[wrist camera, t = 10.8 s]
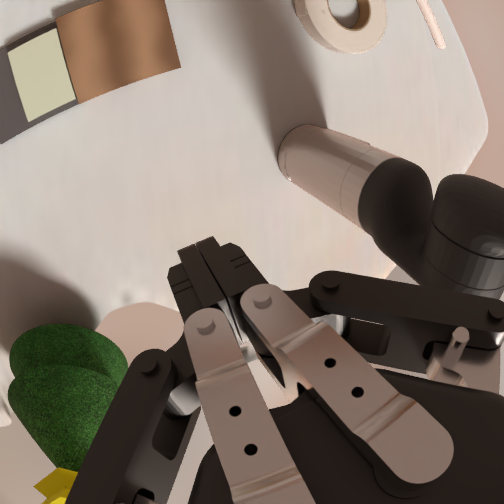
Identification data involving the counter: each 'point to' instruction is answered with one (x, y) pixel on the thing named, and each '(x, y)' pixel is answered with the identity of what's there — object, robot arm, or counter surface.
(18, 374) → the decorative tree
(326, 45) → the roll of tape
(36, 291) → the counter surface
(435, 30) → the marker
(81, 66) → the board
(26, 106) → the tile
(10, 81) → the mat
